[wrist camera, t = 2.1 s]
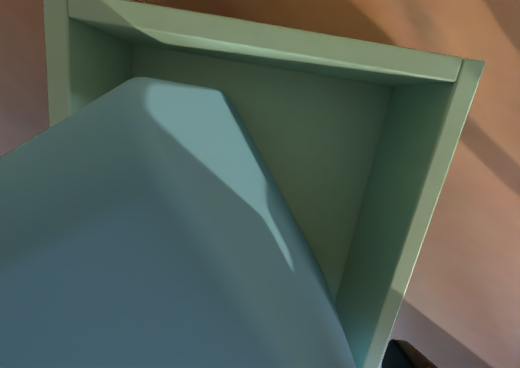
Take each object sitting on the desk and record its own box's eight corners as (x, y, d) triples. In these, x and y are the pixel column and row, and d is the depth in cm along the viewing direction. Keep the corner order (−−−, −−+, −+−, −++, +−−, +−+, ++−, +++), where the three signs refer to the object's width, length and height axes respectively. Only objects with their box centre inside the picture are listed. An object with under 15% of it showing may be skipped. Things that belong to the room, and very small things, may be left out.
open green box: (410, 73, 15) (487, 60, 10) (335, 335, 19) (361, 420, 14) (120, 24, 14) (40, -16, 9) (115, 306, 19) (61, 383, 14)
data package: (151, 130, 15) (-179, 229, 4) (226, 88, 15) (93, 57, 3) (258, 301, 18) (250, 643, 7) (324, 272, 18) (437, 596, 6)
